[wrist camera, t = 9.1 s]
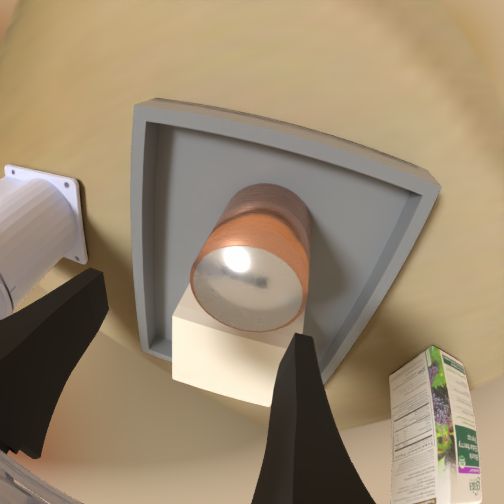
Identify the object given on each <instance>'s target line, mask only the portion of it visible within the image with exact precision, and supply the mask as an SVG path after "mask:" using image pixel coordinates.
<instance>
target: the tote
mask: <svg viewBox="0 0 504 504" xmlns="http://www.w3.org/2000/svg"><path fill="white" fill-rule="evenodd" d="M259 183H270V184H276V185H279V186H283V187H285V188H287V189H289V190H291V191H292V192H294V193H295V194H296V195H297V196H299V197H300V198H301V200H302V201H303V202H304V203H305V205H306V206H307V208H308V210H309V213H310V216H311V220H312V233H311V251H310V268H309V282H308V295H307V302H306V306H305V315H304V325H303V335H307V336H311V337H313V339H314V344H315V350H316V355H317V360H318V365H319V369H320V373H321V378H322V382H323V385H324V384H325V383H326V382H327V380H328V379H329V378H330V376H331V375H332V374H333V372H334V371H335V370H336V368H337V367H338V365H339V364H340V363H341V361H342V360H343V358H344V357H345V356H346V354H347V353H348V351H349V350H350V349H351V347H352V346H353V344H354V343H355V341H356V340H357V338H358V337H359V335H360V334H361V332H362V331H363V329H364V328H365V326H366V325H367V323H368V322H369V320H370V319H371V317H372V315H373V314H374V312H375V311H376V309H377V308H378V306H379V304H380V303H381V301H382V299H383V298H384V296H385V295H386V293H387V291H388V290H389V288H390V286H391V284H392V283H393V281H394V279H395V278H396V276H397V274H398V272H399V271H400V269H401V267H402V265H403V264H404V262H405V260H406V258H407V256H408V254H409V253H410V251H411V249H412V247H413V245H414V243H415V241H416V239H417V237H418V235H419V234H420V232H421V230H422V228H423V226H424V224H425V222H426V220H427V218H428V215H429V213H430V211H431V209H432V207H433V205H434V203H435V201H436V199H437V196H438V194H439V192H440V190H441V186H440V184H439V183H438V182H437V181H436V180H435V178H434V177H433V176H432V175H431V174H430V173H429V171H428V170H426V169H423V168H421V167H419V166H416V165H414V164H411V163H409V162H406V161H404V160H401V159H399V158H396V157H394V156H391V155H388V154H386V153H383V152H380V151H377V150H375V149H372V148H369V147H366V146H363V145H360V144H357V143H354V142H351V141H348V140H345V139H342V138H339V137H336V136H332V135H329V134H326V133H323V132H319V131H316V130H312V129H309V128H305V127H302V126H298V125H294V124H290V123H287V122H283V121H279V120H275V119H270V118H266V117H262V116H258V115H253V114H249V113H244V112H239V111H234V110H229V109H224V108H219V107H214V106H208V105H202V104H196V103H190V102H183V101H176V100H169V99H161V98H154V99H151V100H148V101H145V102H141V103H138V104H135V105H134V112H133V127H132V145H131V181H130V208H131V243H132V263H133V278H134V290H135V301H136V311H137V321H138V329H139V337H140V345H141V351H142V352H145V353H147V354H150V355H153V356H155V357H158V358H161V359H164V360H167V361H169V362H172V315H173V313H174V311H175V310H176V308H177V306H178V304H179V302H180V300H181V298H182V296H183V294H184V292H185V291H186V289H187V287H188V285H189V283H190V272H191V268H192V265H193V263H194V262H195V260H196V258H197V256H198V254H199V253H200V251H201V249H202V247H203V246H204V244H205V242H206V240H207V239H208V237H209V235H210V233H211V232H212V230H213V228H214V227H215V225H216V223H217V221H218V220H219V218H220V216H221V215H222V213H223V211H224V209H225V208H226V206H227V204H228V203H229V201H230V199H231V198H232V197H233V196H234V195H235V194H236V193H237V192H238V191H240V190H241V189H243V188H245V187H247V186H250V185H253V184H259Z"/></svg>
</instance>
